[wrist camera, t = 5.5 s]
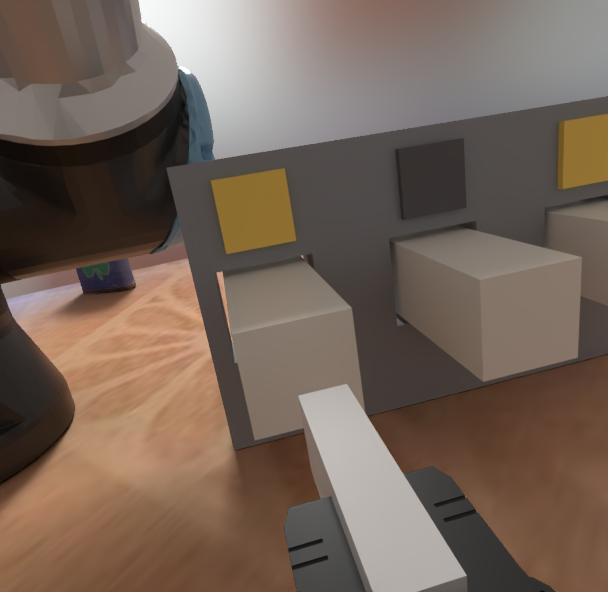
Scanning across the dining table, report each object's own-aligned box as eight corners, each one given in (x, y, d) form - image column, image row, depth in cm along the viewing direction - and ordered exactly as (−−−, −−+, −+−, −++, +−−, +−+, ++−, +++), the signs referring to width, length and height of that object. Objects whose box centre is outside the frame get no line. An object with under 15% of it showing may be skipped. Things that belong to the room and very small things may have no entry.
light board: (234, 454, 26) (165, 167, 21) (228, 385, 34) (177, 166, 29) (631, 351, 30) (653, 89, 25) (542, 311, 37) (545, 106, 32)
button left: (254, 440, 17) (231, 334, 16) (237, 338, 27) (222, 267, 25) (365, 412, 18) (351, 308, 16) (308, 322, 27) (297, 253, 26)
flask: (139, 285, 69) (119, 215, 65) (127, 291, 66) (106, 219, 63) (90, 288, 71) (69, 222, 68) (77, 295, 69) (54, 226, 65)
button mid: (483, 382, 18) (480, 279, 17) (386, 305, 28) (380, 236, 27) (577, 357, 19) (582, 257, 18) (451, 291, 29) (447, 223, 27)
